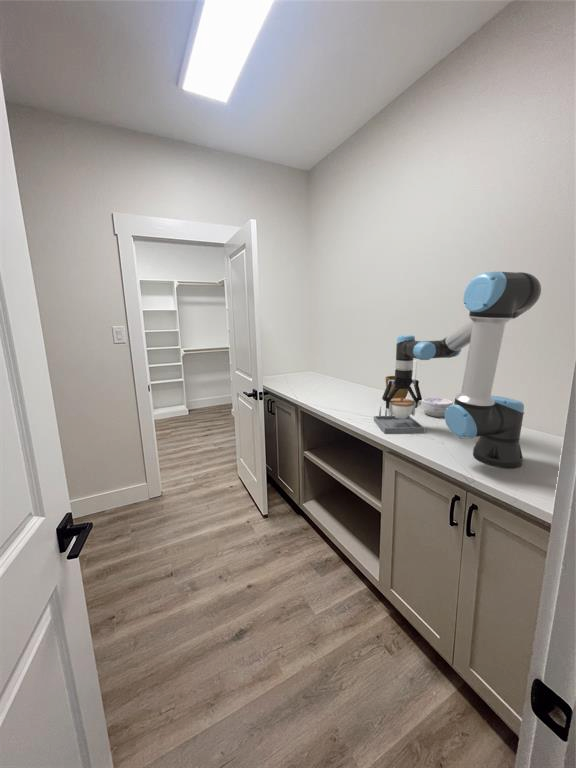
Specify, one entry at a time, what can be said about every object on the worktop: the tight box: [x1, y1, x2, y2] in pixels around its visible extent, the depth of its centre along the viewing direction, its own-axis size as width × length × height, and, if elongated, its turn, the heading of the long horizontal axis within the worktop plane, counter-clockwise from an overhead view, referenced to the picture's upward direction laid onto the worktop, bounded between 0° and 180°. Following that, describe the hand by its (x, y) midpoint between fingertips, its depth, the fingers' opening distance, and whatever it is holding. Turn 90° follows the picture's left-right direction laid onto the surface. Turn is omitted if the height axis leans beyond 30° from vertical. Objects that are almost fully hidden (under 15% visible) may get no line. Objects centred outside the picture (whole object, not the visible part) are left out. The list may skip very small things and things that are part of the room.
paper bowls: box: [420, 397, 454, 418], centre depth 166 cm, size 15×15×8 cm
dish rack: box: [373, 403, 425, 435], centre depth 148 cm, size 18×18×9 cm
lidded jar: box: [390, 397, 414, 419], centre depth 146 cm, size 11×11×9 cm
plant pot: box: [384, 375, 409, 399], centre depth 187 cm, size 15×15×16 cm
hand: (400, 414), depth 147 cm, fingers closed on lidded jar, 11 cm apart
